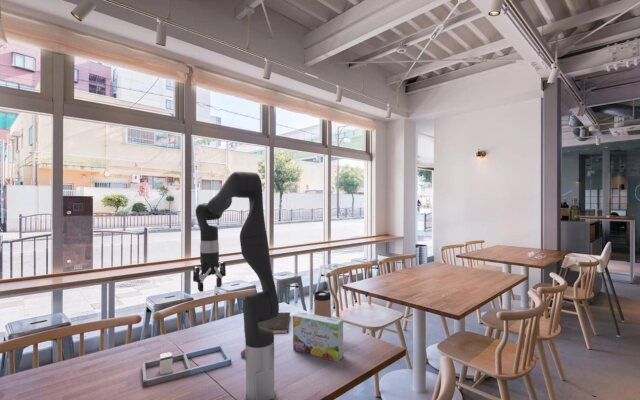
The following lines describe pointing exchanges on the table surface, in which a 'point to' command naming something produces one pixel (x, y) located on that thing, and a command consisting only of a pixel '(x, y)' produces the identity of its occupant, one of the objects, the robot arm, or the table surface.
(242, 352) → the video game controller
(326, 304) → the travel mug
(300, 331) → the snack box
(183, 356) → the two-cell open frame
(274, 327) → the hardcover book
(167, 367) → the grey rectangular block
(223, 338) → the table surface
